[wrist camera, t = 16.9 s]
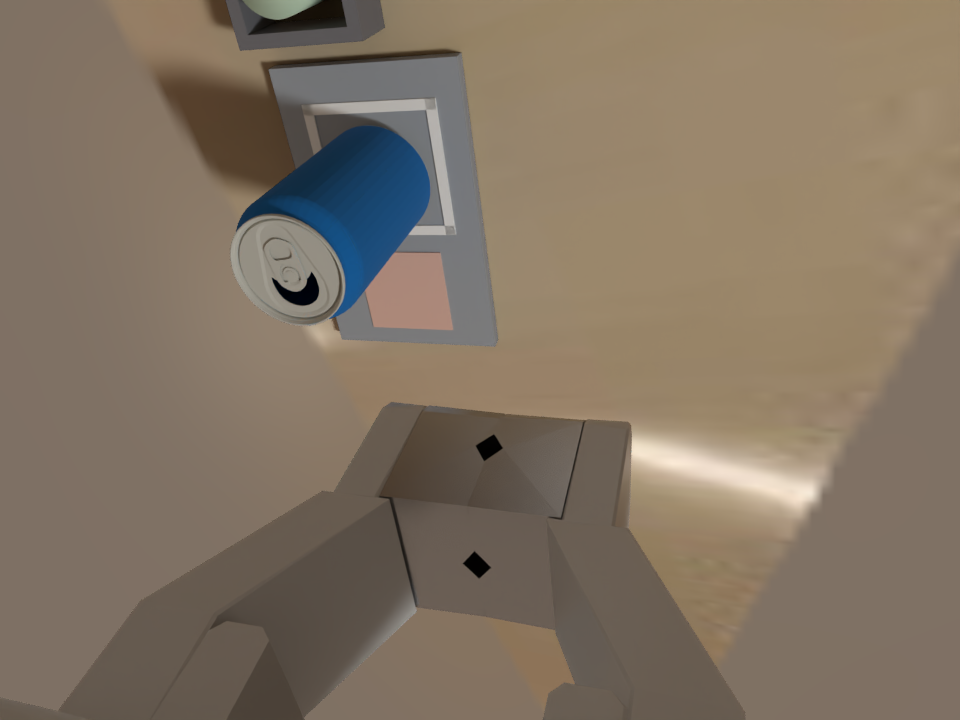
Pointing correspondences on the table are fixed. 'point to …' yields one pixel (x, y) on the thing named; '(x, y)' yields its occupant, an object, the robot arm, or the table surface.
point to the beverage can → (330, 226)
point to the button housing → (305, 26)
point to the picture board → (453, 191)
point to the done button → (279, 7)
